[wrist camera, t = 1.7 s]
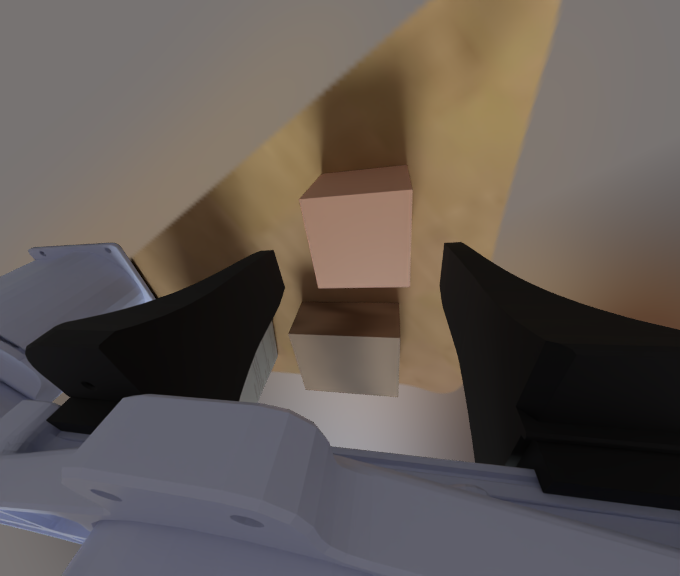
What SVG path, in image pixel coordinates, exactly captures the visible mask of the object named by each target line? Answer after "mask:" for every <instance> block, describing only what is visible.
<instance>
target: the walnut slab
mask: <svg viewBox="0 0 680 576" xmlns="http://www.w3.org/2000/svg"><path fill="white" fill-rule="evenodd" d="M289 338H290V341H291V344H292V347H293V350H294V354H295V357H296V360H297V363H298V366H299V370H300V373H301V376H302V379H303V382H304V386H305V388H306V390H314V391H327V392H339V393H352V394H365V395H377V396H378V395H379V396H390V397H398V386H399V357H400V321H399V303H351V302H302V303H301V306H300V308H299V310H298V313H297V315H296V317H295V320H294V322H293V324H292V327H291V329H290V331H289Z"/></svg>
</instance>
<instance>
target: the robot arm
mask: <svg viewBox="0 0 680 576" xmlns="http://www.w3.org/2000/svg"><path fill="white" fill-rule="evenodd" d="M28 252H29V253H30V255H31V256H32V257H33V258H34V259H35V261H33V262H30V263H29V264H26V265H24V266H22V267H20V268H18V269H15V270H13V271H11V272H9V273H7V274H5V275H3V276H0V524H3V525H8V526H12V527H16V528H20V529H24V530H28V531H33V532H36V533H40V534H44V535H48V536H52V537H56V538H59V539H63V540H67V541H71V542H75V543H79V544H82V546H81V548H80V549H79V550H78V552H77V553H76V555H75V556H74V558H73V559H72V560H71V562H70V563H69V565H68V566H67V568H66V569H65V571H64V572H63V574H62V575H61V576H680V330H678V329H673V328H669V327H665V326H660V325H656V324H652V323H648V322H643V321H639V320H635V319H631V318H627V317H624V316H621V315H617V314H614V313H610V312H607V311H603V310H600V309H597V308H594V307H590V306H587V305H584V304H581V303H578V302H576V301H573V300H570V299H567V298H565V297H562V296H559V295H556V294H554V293H551V292H549V291H547V290H544V289H542V288H540V287H537V286H535V285H533V284H531V283H529V282H527V281H524V280H523V279H520V278H518V277H517V276H515V275H513V274H511V273H509V272H508V271H506V270H504V269H502V268H501V267H499V266H497V265H496V264H494V263H493V262H491V261H489V260H488V259H486V258H485V257H483V256H482V255H480V254H479V253H477V252H476V251H474V250H473V249H471V248H470V247H468V246H467V245H465V244H464V243H462V242H455V243H444V251H443V260H442V269H441V278H440V292H441V299H442V305H443V309H444V312H445V316H446V319H447V322H448V325H449V329H450V332H451V335H452V338H453V341H454V345H455V348H456V351H457V355H458V359H459V363H460V369H461V374H462V380H463V385H464V391H465V397H466V403H467V409H468V415H469V422H470V429H471V435H472V442H473V450H474V457H475V463H473V462H464V461H454V460H446V459H437V458H428V457H420V456H411V455H402V454H393V453H384V452H376V451H367V450H358V449H350V448H341V447H332V446H330V444H329V442H328V440H327V439H326V437H325V436H324V435H323V433H322V432H321V431H320V430H319V428H318V427H317V426H316V425H315V424H314V422H312V421H310V420H308V419H306V418H304V417H303V416H301V415H299V414H297V413H295V412H293V411H291V410H289V409H285V408H280V407H276V406H271V405H267V404H262V403H252V402H240V401H239V400H240V396H241V393H242V390H243V387H244V384H245V381H246V378H247V375H248V372H249V369H250V367H251V364H252V361H253V359H254V356H255V353H256V351H257V349H258V347H259V345H260V342H261V341H262V339H263V337H264V335H265V333H266V331H267V329H268V327H269V325H270V323H271V321H272V319H273V317H274V315H275V313H276V311H277V309H278V307H279V305H280V302H281V299H282V296H283V292H284V289H285V286H284V283H283V280H282V276H281V273H280V270H279V266H278V263H277V260H276V257H275V253H274V250H268V251H259V252H256V253H254V254H252V255H250V256H248V257H246V258H244V259H242V260H240V261H238V262H237V263H235V264H233V265H231V266H229V267H227V268H226V269H224V270H222V271H220V272H218V273H216V274H214V275H212V276H210V277H208V278H206V279H204V280H202V281H200V282H198V283H196V284H194V285H191V286H189V287H187V288H184V289H182V290H179V291H177V292H174V293H172V294H169V295H166V296H163V297H160V298H158V299H156V298H155V297H154V295H153V294H152V292H151V291H150V289H149V288H148V286H147V285H146V283H145V282H144V280H143V279H142V277H141V276H140V274H139V273H138V271H137V270H136V269H135V267H134V266H133V264H132V263H131V261H130V260H129V258H128V257H127V255H126V254H125V252H124V251H123V250H122V248H121V246H120V245H118V244H116V243H98V244H83V245H64V246H47V247H34V248H31V249H29V250H28ZM62 392H64V393H65V394H66V395H68V396H69V397H70V398H69V399H68V400H67V401H66V402H65V403H64V404H63V405H62V406H60V405H58V404H56V403H52V401H54V400H55V399H56V398H57V397H58V396H59V395H60V394H61V393H62Z"/></svg>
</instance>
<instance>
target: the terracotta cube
mask: <svg viewBox="0 0 680 576" xmlns="http://www.w3.org/2000/svg"><path fill="white" fill-rule="evenodd" d="M412 191H413V189H412V185H411V181H410V176H409V172H408V167H407V165H400V166H391V167H381V168H372V169H363V170H353V171H344V172H334V173H325V174H321V175H320V176H319V177H318V179H317V180H316V181H315V182H314V183H313V184H312V185H311V186H310V188H309V189H308V190H307V191H306V192H305V193H304V194H303V195H302V197H301V198H300V199H299V201H300V206H301V211H302V215H303V220H304V225H305V229H306V234H307V238H308V243H309V248H310V252H311V257H312V262H313V266H314V271H315V275H316V280H317V285H318V288H375V287H410V263H411V227H412Z"/></svg>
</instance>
